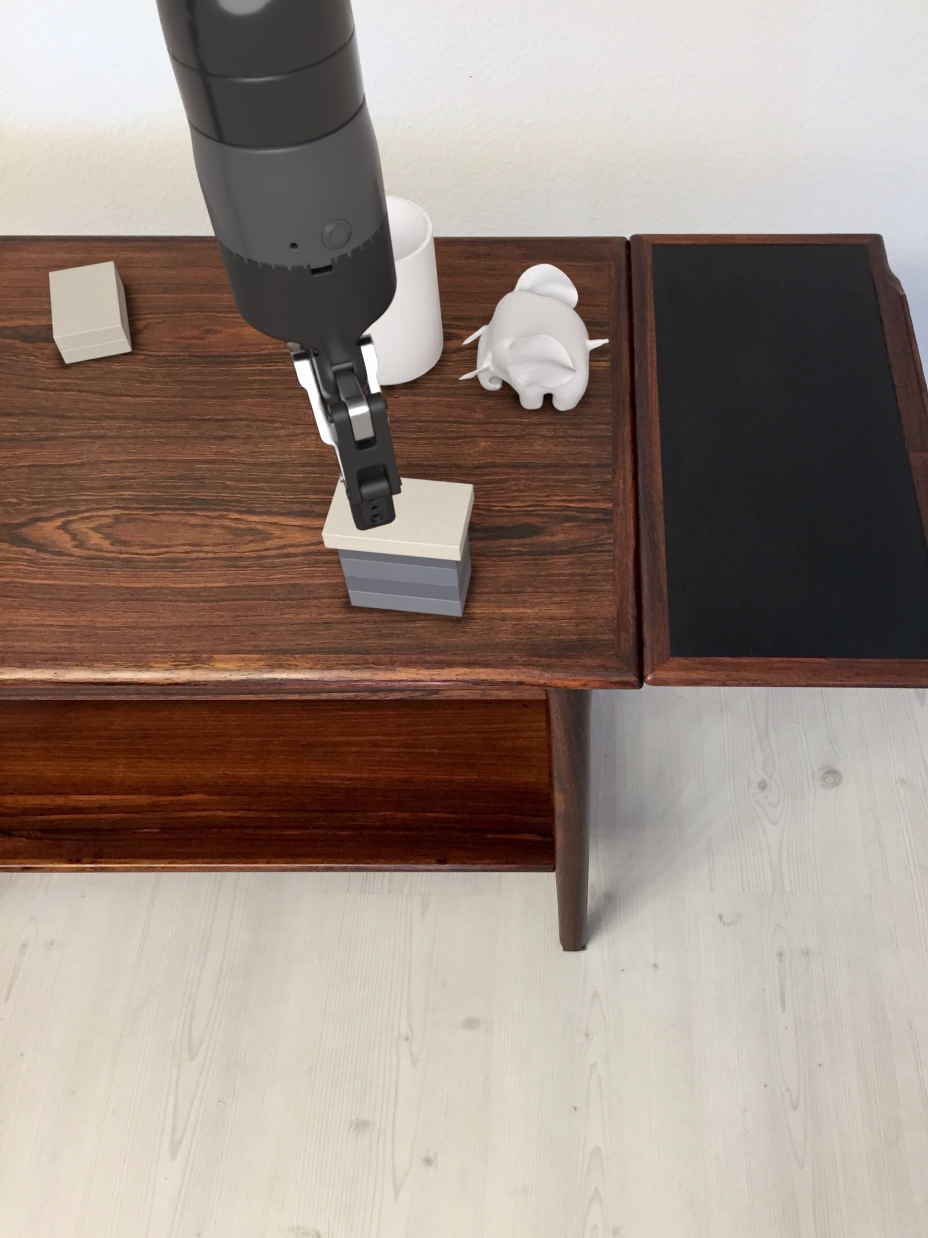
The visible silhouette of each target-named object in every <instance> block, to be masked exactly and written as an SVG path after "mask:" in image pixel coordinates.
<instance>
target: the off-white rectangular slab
mask: <svg viewBox="0 0 928 1238" xmlns="http://www.w3.org/2000/svg"><path fill="white" fill-rule="evenodd" d="M400 478H401V482H402V486H400V487H401V493H400V494H396V495H393V496H392V497H393V503H394V508H395V514H396V518H395V520H394V521H393V522H392V523H390V524H387V525H383V526H379V527H376V528H372V529H369V530H364V531H361V530H358V529H357V528H356V526H355V523H354V520H353V518H352V513H351V509H350V505H349V500H348V498H347V495H346V491H345V490H346V488H345V486H344V483H341V482H340V479H339V478H338V480H337V484H336V488H335V490H334V494H333V496H332V500H331V503H330V507H329V509H328V513H327V515H326V519H325V522H324V525H323V529H322V532H321V537H322V540H323V544H324V547H325V548H326V549H335V550H337V549H346V550H356V551H366V552H376V553H386V554H397V555H407V556H417V557H427V558H437V559H447V560H458V561H460V560H461V557H462V552H463V548H464V543H465V538H466V534H467V529H468V530H469V524H470V520H471V515H472V510H473V506H474V501H475V491H474V484H472V483H461V482H453V481H452V482H451V481H440V480H430V479H419V478H409V477H400Z"/></svg>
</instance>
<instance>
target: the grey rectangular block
mask: <svg viewBox="0 0 928 1238" xmlns="http://www.w3.org/2000/svg"><path fill="white" fill-rule="evenodd" d="M468 530H469V528H468V529H467V534H466V538H465V543H464V548H463V552H462V557H461V560H460V561H458V560H447V559H437V558H427V557H417V556H407V555H397V554H386V553H376V552H366V551H356V550H346V549H336V550H337V552H338V557H339V562H340V566H341V569H342V573H343V577H344V580H345V584H346V589H347V592H348V597H349V600H350V604H351V606H352V607H363V608H370V609H371V608H372V609H382V610H393V611H403V612H409V613H410V612H411V613H420V614H421V613H422V614H431V615H440V616H451V617H463V614H464V609H465V604H466V599H467V595H468V590H469V584H470V580H471V576H472V562H471V552H470V542H469V531H468Z"/></svg>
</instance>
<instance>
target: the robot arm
mask: <svg viewBox="0 0 928 1238" xmlns="http://www.w3.org/2000/svg"><path fill="white" fill-rule="evenodd" d="M351 1H352V0H155V3H156V4H155V5H156V10H157V15H158V18H159V23H160V27H161V31H162V35H163V40H164V43H165V46H166V50H167V53H168V58H169V61H170V64H171V68H172V71H173V75H174V79H175V81H176V84H177V88H178V92H179V95H180V99H181V102H182V106H183V110H184V113H185V115H186V119H187V124H188V128H189V134H190V140H191V150H192V154H193V160H194V166H195V171H196V175H197V180H198V183H199V186H200V190H201V193H202V196H203V200H204V203H205V206H206V210H207V214H208V217H209V220H210V224H211V227H212V230H213V231H212V232H213V233H214V237H215V240H216V244H217V248H218V250H219V254H220V257H221V262H222V264H223V267H224V271H225V274H226V278H227V281H228V285H229V288H230V291H231V293H232V294H231V296H232V299H233V301H234V305H235V307H236V309H237V311H238V313H239V315H240V316H241V318H242V319H243V321H245V322H246V323H247V324H248V325H249V326H250V327H252V329H254V330H256V331H257V332H259V333H260V334H263V335H264V336H267V337H269V338H271V339H274V340H277V341H281V342H284V345H285V349H287V350H288V351H289V355H290V359H291V362H292V367H293V369H294V373H295V376H296V379H297V382H298V384H299V385H300V386H301V387H303V388H304V389H305V391H306V395H307V398H308V402H309V406H310V409H311V413H312V416H313V419H314V423H315V426H316V429H317V433H318V436H319V438H320V440H322V442H323V443H325V444H326V445H330V446H332V449H333V452H334V455H335V458H336V459H335V460H336V462H337V466H338V469H339V472H338V473H337V475H338V480H339V479H340V482H341V483H344V486H345V488H346V490H345V491H346V495H347V498H348V500H349V505H350V509H351V513H352V518H353V520H354V523H355V526H356V528H357V529H358V530H361V531H364V530H369V529H372V528H376V527H379V526H383V525H387V524H390V523H392V522H393V521H394V520H395V518H396V514H395V508H394V503H393V497H392V496H393V495H396V494H400V493H401V487H400V486H402V482H401V478H402V477H401V475H399V471H398V465H397V460H396V454H395V448H394V443H393V437H392V432H391V425H390V419H389V415H388V411H387V410H389V404H388V401H387V399H386V397H384V396H383V393H382V389H381V385H379V381H378V377H377V370H378V368H379V361H378V357H377V353H376V350H375V346H374V342H373V339H372V337H371V335H370V333H369V334H365V335H362V334H363V333H364V332H365V331H366V330H367V329H368V328H369V327H370V326H371V325H372V324H373V323H375V322H376V321H377V320H378V319H379V318H380V317H381V316H382V315H383V314H384V313H385V312H386V311H387V309H388V308H389V306H390V305H391V303H392V301H393V299H394V296H395V293H396V288H397V276H396V269H395V262H394V255H393V247H392V240H391V233H390V226H389V219H388V212H387V204H386V197H385V195H386V189H385V184H384V176H383V169H382V161H381V155H380V149H379V144H378V140H377V136H376V132H375V129H374V125H373V121H372V118H371V114H370V112H369V108H368V104H367V98H366V92H365V85H364V79H363V72H362V65H361V64H362V63H361V57H360V52H359V51H360V50H359V43H358V38H357V37H358V36H357V30H356V24H355V19H354V13H353V7H352V2H351Z"/></svg>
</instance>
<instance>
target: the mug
mask: <svg viewBox="0 0 928 1238" xmlns="http://www.w3.org/2000/svg"><path fill="white" fill-rule="evenodd" d="M385 197H386V204H387V212H388V219H389V226H390V233H391V240H392V247H393V255H394V262H395V269H396V276H397V288H396V293H395V296H394V299H393V301H392V303H391V305H390V306H389V308H388V309H387V311H386V312H385V313H384V314H383V315H382V316H381V317H380V318H379V319H378V320H377V321H376V322H375V323H373V324H372V325H371V326H370V327H369V328H368V329H367V330H366V331H365V332H364V333H363V334H362V335H365V334H369V333H370V335H371V337H372V339H373V342H374V346H375V350H376V353H377V357H378V361H379V368H378V370H377V377H378V381H379V385H380V386H394V385H395V386H396V385H402V384H404V383H409V382H411V381H415V380H416V379H418V378H419V377H422V376H423V375H425V374H426V373H427V372H429V371H430V370H432V368H433V367H435V366H436V365H437V363H438V361H439V360H440V359H441V355H442V353H443V349H444V333H443V322H442V321H443V319H442V312H441V311H442V310H441V301H440V291H439V281H438V270H437V261H436V249H435V241H434V240H435V239H434V231H433V229H434V228H433V223H432V219H431V218H430V216H429V214H428V213H427V212H426V210H424V209H423V208H422V207H420V205H418V204H416V203H415V202H412V201H410V200H409V199H407V198H403V197H399V196H395V195H389V194H385Z"/></svg>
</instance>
